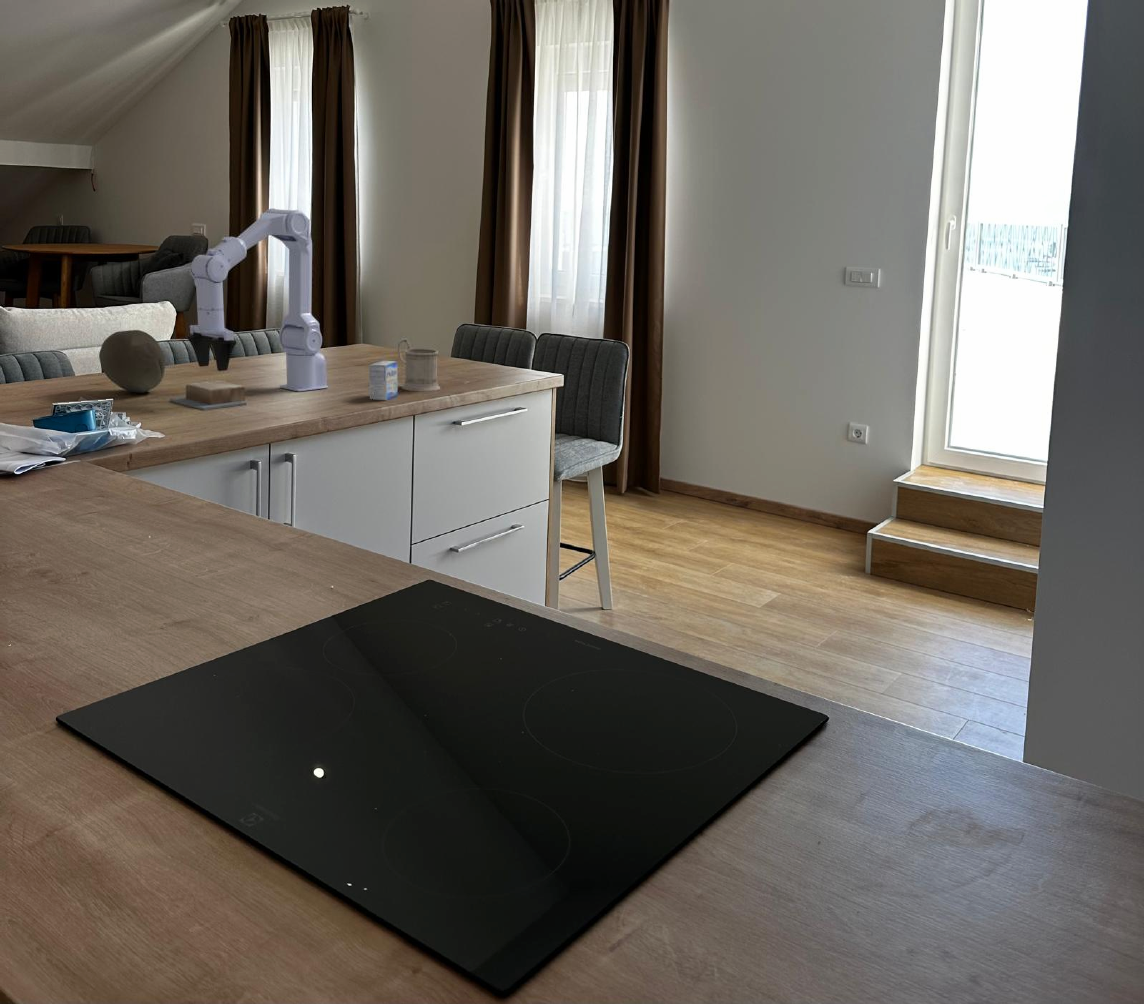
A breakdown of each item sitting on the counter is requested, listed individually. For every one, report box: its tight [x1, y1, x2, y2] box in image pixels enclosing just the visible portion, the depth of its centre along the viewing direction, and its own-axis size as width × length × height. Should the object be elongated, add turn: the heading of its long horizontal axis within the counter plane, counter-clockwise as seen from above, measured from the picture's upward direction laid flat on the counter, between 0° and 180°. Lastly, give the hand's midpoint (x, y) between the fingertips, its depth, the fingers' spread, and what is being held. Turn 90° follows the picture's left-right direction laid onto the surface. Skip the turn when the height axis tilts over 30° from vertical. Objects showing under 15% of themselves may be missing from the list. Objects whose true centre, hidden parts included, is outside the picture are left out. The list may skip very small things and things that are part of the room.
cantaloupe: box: [98, 329, 166, 394], centre depth 263 cm, size 14×14×15 cm
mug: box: [397, 338, 441, 392], centre depth 289 cm, size 14×10×12 cm
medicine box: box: [368, 360, 398, 402], centre depth 272 cm, size 8×4×9 cm, turn 168°
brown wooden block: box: [185, 379, 246, 405], centre depth 258 cm, size 4×10×9 cm
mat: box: [169, 396, 247, 411], centre depth 257 cm, size 11×14×1 cm
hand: (213, 368), depth 256 cm, fingers open, 7 cm apart
